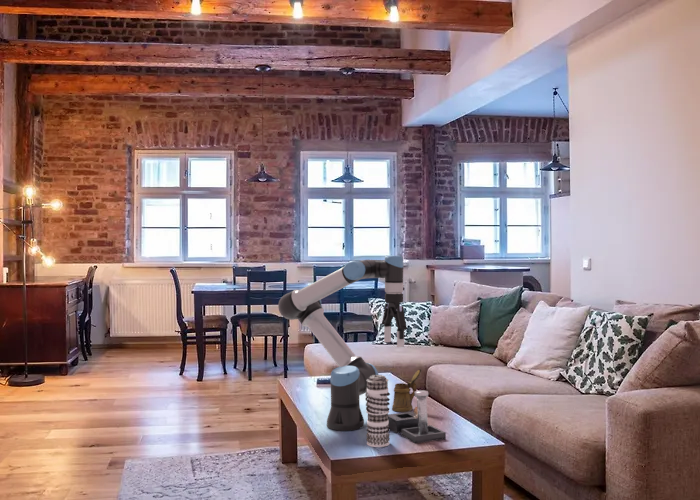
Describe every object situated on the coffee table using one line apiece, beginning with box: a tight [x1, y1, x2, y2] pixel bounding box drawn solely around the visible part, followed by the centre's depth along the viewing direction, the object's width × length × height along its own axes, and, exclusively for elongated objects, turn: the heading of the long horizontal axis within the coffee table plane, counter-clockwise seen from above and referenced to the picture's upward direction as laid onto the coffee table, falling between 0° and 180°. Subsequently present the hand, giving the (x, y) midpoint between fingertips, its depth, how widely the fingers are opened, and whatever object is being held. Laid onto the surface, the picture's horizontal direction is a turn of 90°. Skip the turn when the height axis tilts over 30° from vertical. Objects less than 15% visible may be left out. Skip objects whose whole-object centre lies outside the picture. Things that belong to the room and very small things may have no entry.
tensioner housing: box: [388, 406, 418, 434], centre depth 260 cm, size 15×10×8 cm
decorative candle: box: [364, 374, 391, 448], centre depth 240 cm, size 9×9×25 cm
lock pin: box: [414, 389, 429, 435], centre depth 247 cm, size 5×5×16 cm
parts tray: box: [401, 424, 447, 444], centre depth 247 cm, size 13×11×2 cm
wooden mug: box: [391, 368, 423, 413], centre depth 290 cm, size 9×14×18 cm, turn 96°
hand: (393, 344), depth 268 cm, fingers open, 13 cm apart
